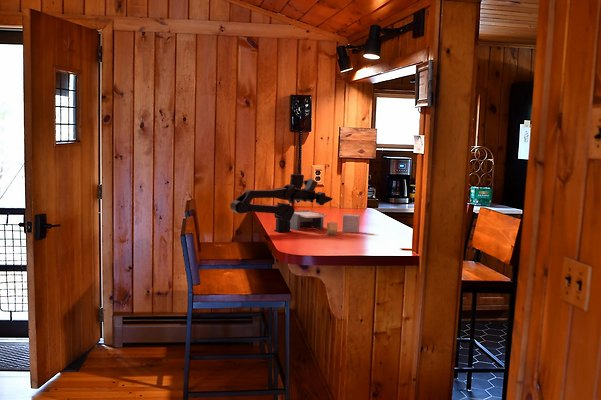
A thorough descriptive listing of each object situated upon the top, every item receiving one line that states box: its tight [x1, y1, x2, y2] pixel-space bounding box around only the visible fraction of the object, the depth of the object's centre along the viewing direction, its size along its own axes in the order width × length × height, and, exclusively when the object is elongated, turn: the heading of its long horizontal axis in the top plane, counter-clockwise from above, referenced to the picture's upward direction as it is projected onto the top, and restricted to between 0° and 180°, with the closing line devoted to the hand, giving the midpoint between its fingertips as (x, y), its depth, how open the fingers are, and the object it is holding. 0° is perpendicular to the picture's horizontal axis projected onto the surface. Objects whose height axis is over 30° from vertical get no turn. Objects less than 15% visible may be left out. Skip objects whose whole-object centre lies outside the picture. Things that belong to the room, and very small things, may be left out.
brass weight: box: [326, 221, 338, 237], centre depth 323 cm, size 5×5×6 cm
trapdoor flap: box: [294, 211, 328, 222], centre depth 340 cm, size 12×18×5 cm
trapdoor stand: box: [290, 209, 325, 231], centre depth 344 cm, size 16×15×8 cm
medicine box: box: [341, 213, 360, 234], centre depth 335 cm, size 8×4×9 cm, turn 74°
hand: (327, 197), depth 339 cm, fingers open, 9 cm apart
